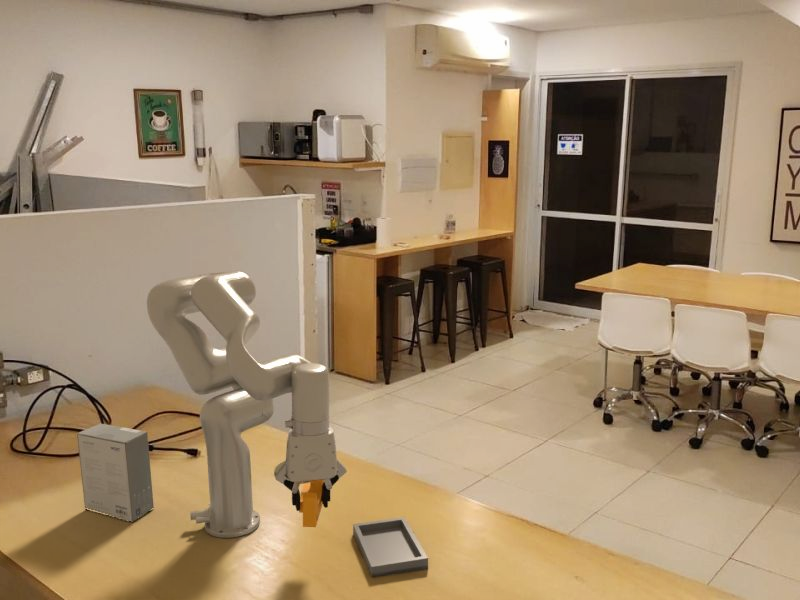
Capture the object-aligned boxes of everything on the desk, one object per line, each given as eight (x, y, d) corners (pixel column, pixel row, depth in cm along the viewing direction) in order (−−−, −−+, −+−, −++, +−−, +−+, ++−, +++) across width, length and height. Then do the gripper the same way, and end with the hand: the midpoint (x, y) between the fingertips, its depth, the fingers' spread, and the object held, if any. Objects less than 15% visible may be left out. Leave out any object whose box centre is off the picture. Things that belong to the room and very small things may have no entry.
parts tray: (371, 578, 152) (371, 566, 152) (353, 534, 169) (353, 524, 169) (428, 568, 156) (428, 558, 155) (404, 527, 173) (404, 517, 172)
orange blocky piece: (304, 497, 162) (304, 469, 161) (324, 498, 162) (324, 470, 160) (294, 526, 150) (293, 496, 149) (315, 527, 150) (315, 497, 149)
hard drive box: (155, 509, 182) (149, 431, 177) (132, 523, 175) (125, 443, 171) (107, 497, 188) (100, 422, 184) (83, 510, 181) (75, 432, 177)
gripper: (270, 435, 146) (271, 520, 150) (355, 428, 151) (355, 510, 155) (266, 421, 153) (268, 502, 157) (348, 414, 158) (347, 493, 162)
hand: (311, 505), depth 156 cm, fingers closed on orange blocky piece, 5 cm apart
